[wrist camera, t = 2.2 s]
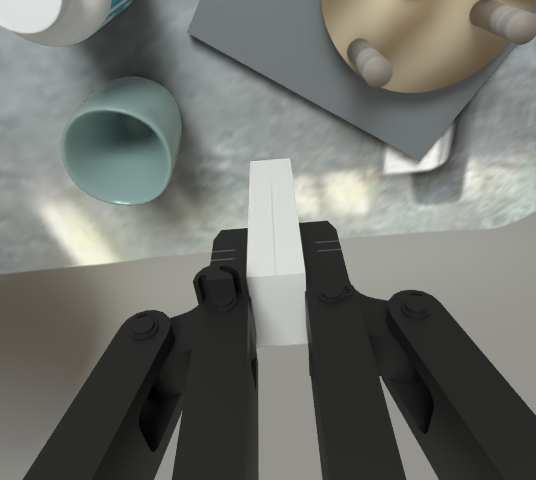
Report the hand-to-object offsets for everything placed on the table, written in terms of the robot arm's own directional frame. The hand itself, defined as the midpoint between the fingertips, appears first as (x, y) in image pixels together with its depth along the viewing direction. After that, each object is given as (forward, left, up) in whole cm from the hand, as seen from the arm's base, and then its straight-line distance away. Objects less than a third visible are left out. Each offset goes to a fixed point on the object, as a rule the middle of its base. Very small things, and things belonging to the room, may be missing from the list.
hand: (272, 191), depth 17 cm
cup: (-6, -9, -24) cm, 26 cm away
